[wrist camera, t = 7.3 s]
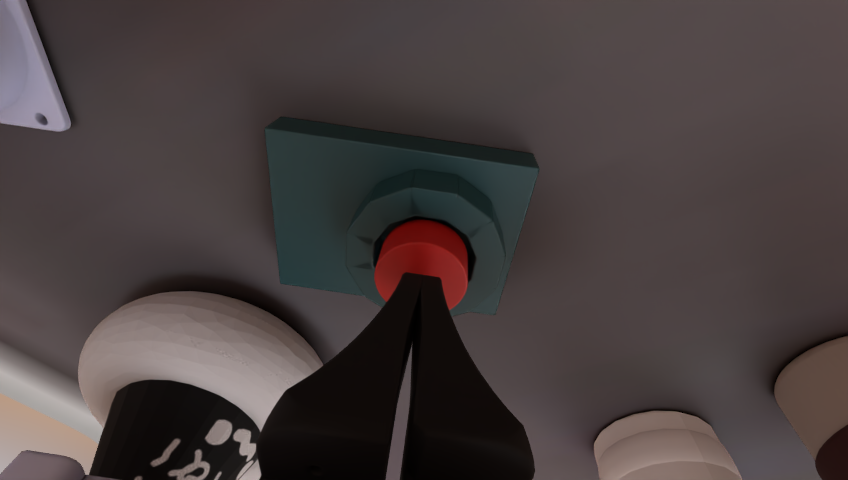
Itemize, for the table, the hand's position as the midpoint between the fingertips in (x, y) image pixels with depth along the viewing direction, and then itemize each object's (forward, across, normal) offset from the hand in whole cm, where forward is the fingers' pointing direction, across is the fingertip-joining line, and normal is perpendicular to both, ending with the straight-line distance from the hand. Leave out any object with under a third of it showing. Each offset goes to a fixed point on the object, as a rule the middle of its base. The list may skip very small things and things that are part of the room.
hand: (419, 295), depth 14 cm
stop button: (+2, 0, 0) cm, 2 cm away
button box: (+6, +2, 0) cm, 6 cm away
